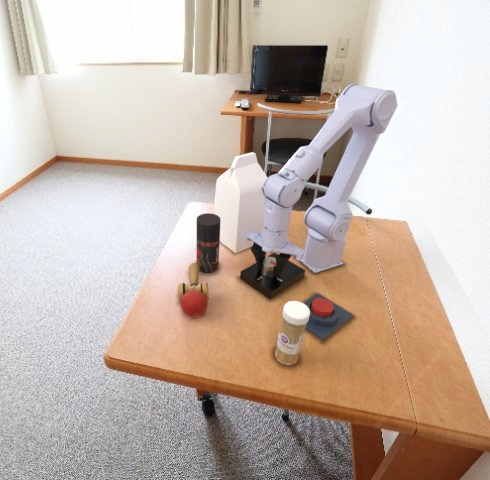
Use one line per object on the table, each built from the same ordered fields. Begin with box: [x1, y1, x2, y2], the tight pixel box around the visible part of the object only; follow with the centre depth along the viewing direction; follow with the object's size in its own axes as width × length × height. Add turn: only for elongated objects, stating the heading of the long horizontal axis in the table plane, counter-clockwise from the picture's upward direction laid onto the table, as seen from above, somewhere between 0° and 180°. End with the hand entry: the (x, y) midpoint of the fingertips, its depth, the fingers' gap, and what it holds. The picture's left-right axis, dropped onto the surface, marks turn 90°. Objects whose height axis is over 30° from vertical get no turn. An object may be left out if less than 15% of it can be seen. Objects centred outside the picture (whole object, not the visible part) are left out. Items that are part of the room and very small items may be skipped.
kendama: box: [177, 262, 210, 318], centre depth 85 cm, size 8×6×18 cm
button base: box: [303, 292, 354, 342], centre depth 78 cm, size 11×9×2 cm
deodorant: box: [196, 212, 221, 275], centre depth 91 cm, size 6×6×15 cm
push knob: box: [311, 298, 334, 317], centre depth 77 cm, size 4×4×2 cm
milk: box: [213, 151, 268, 254], centre depth 99 cm, size 12×12×26 cm
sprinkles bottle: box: [274, 300, 310, 366], centre depth 66 cm, size 5×5×14 cm
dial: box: [261, 256, 276, 278], centre depth 87 cm, size 4×4×4 cm
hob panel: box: [239, 252, 306, 300], centre depth 89 cm, size 13×10×3 cm
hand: (268, 271), depth 88 cm, fingers closed on dial, 4 cm apart
